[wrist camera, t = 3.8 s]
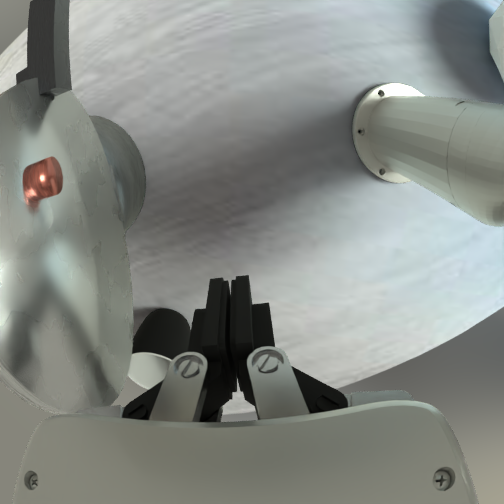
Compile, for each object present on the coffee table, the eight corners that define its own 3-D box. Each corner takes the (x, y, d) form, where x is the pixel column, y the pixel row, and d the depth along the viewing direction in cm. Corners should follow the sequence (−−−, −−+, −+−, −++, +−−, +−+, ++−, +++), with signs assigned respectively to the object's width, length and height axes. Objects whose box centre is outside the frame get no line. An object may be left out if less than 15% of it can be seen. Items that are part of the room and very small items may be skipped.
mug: (132, 304, 40) (111, 353, 31) (187, 297, 39) (175, 350, 30) (159, 356, 46) (148, 403, 37) (208, 353, 45) (203, 403, 36)
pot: (128, 49, 23) (86, 32, 15) (158, 233, 35) (133, 277, 26) (23, 95, 24) (-27, 102, 15) (58, 248, 35) (22, 285, 26)
